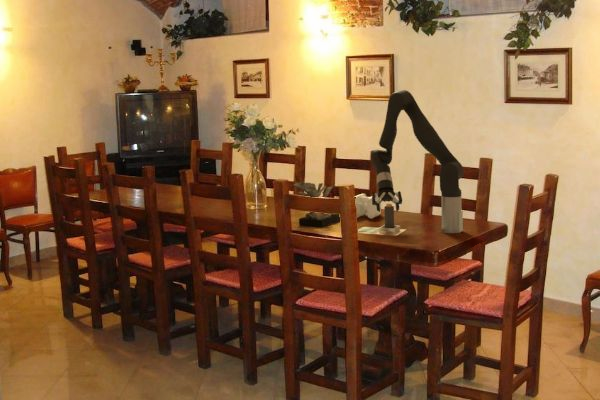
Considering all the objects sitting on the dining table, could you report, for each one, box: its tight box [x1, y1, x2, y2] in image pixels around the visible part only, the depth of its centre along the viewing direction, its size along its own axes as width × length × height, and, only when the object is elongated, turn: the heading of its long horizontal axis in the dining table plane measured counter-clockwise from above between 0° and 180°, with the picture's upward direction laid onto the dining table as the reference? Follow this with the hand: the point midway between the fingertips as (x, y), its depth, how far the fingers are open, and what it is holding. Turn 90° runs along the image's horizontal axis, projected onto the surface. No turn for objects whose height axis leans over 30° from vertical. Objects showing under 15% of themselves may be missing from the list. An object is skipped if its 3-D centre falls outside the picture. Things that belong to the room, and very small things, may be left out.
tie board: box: [357, 224, 407, 237], centre depth 355 cm, size 22×14×4 cm, turn 63°
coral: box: [293, 180, 341, 228], centre depth 385 cm, size 25×20×22 cm
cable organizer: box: [354, 193, 382, 220], centre depth 398 cm, size 15×11×12 cm
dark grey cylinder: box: [383, 203, 395, 228], centre depth 352 cm, size 4×4×13 cm
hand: (388, 210), depth 354 cm, fingers open, 8 cm apart
